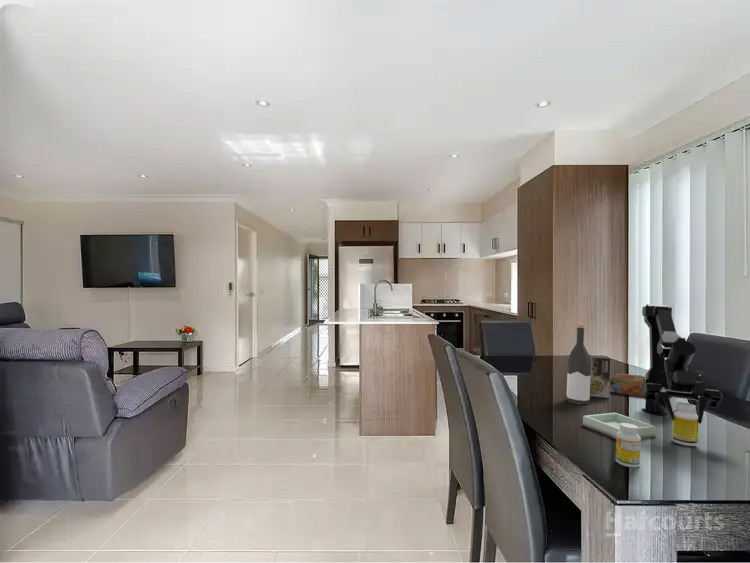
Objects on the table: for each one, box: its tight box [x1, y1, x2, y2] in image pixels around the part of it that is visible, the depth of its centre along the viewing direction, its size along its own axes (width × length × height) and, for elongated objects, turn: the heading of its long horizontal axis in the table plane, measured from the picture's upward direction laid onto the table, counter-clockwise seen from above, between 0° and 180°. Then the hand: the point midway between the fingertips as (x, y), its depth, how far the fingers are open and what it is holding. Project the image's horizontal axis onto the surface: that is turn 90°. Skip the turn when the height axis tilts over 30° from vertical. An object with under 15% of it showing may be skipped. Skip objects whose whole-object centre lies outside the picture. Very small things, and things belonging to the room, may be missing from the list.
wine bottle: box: [566, 323, 591, 405], centre depth 165 cm, size 8×8×30 cm
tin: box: [610, 373, 645, 397], centre depth 181 cm, size 15×3×8 cm, turn 68°
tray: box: [582, 412, 657, 439], centre depth 133 cm, size 14×14×3 cm
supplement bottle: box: [615, 423, 642, 468], centre depth 108 cm, size 5×5×10 cm
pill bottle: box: [670, 401, 699, 447], centre depth 124 cm, size 6×6×11 cm
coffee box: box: [589, 354, 611, 399], centre depth 177 cm, size 9×6×16 cm
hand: (686, 421), depth 122 cm, fingers closed on pill bottle, 6 cm apart
